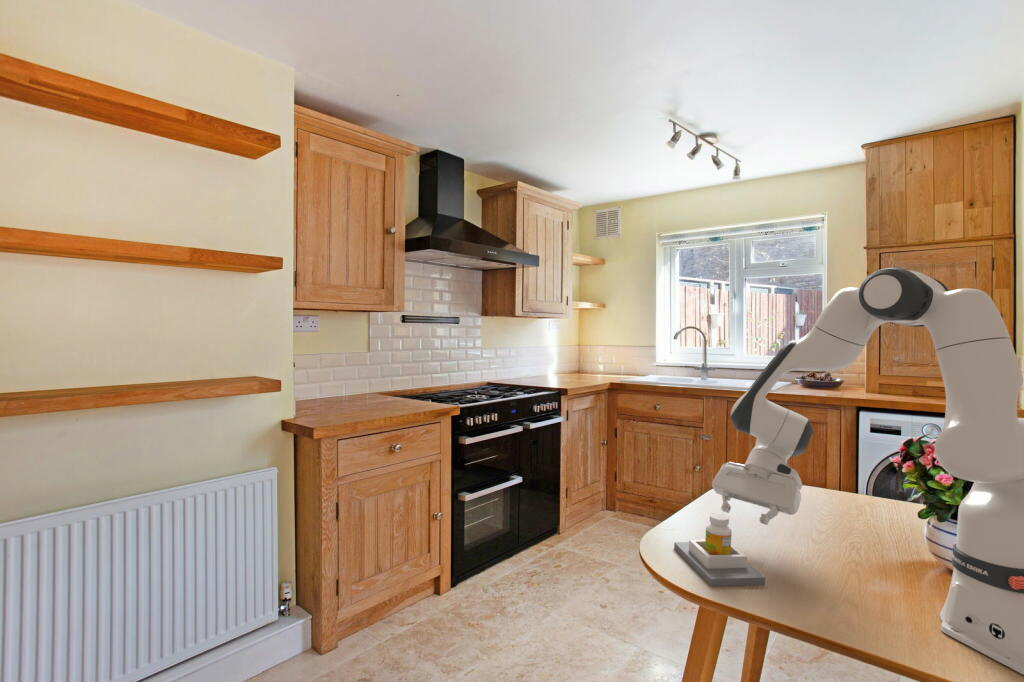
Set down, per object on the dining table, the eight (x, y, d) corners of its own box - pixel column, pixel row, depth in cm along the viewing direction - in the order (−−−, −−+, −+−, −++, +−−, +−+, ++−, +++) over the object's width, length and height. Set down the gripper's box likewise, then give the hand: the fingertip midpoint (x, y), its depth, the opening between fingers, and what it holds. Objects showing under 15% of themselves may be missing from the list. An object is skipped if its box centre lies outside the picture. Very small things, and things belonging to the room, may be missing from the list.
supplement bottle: (699, 555, 122) (701, 513, 121) (717, 552, 124) (719, 510, 123) (717, 565, 117) (719, 522, 116) (735, 562, 119) (737, 519, 118)
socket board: (764, 584, 112) (765, 565, 112) (710, 586, 111) (711, 567, 110) (721, 547, 130) (721, 531, 130) (674, 548, 129) (674, 532, 128)
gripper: (720, 453, 140) (699, 497, 134) (803, 472, 125) (783, 522, 119) (727, 467, 143) (707, 511, 137) (809, 487, 128) (790, 537, 122)
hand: (743, 516), depth 128 cm, fingers open, 8 cm apart
